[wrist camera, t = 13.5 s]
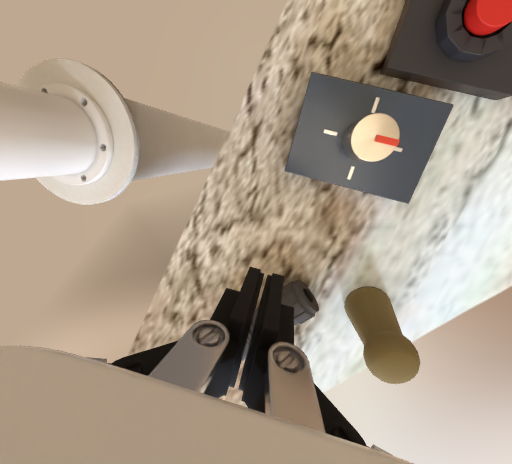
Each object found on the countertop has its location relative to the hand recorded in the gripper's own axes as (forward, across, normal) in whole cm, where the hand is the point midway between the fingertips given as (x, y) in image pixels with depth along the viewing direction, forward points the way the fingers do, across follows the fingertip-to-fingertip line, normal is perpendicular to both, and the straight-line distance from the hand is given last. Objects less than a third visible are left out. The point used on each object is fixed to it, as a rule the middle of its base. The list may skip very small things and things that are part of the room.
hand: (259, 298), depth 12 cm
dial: (+19, -6, -9) cm, 22 cm away
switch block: (+22, -12, -21) cm, 33 cm away
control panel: (+22, -6, -10) cm, 25 cm away
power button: (+18, -12, -21) cm, 31 cm away
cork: (+22, -15, +11) cm, 29 cm away
